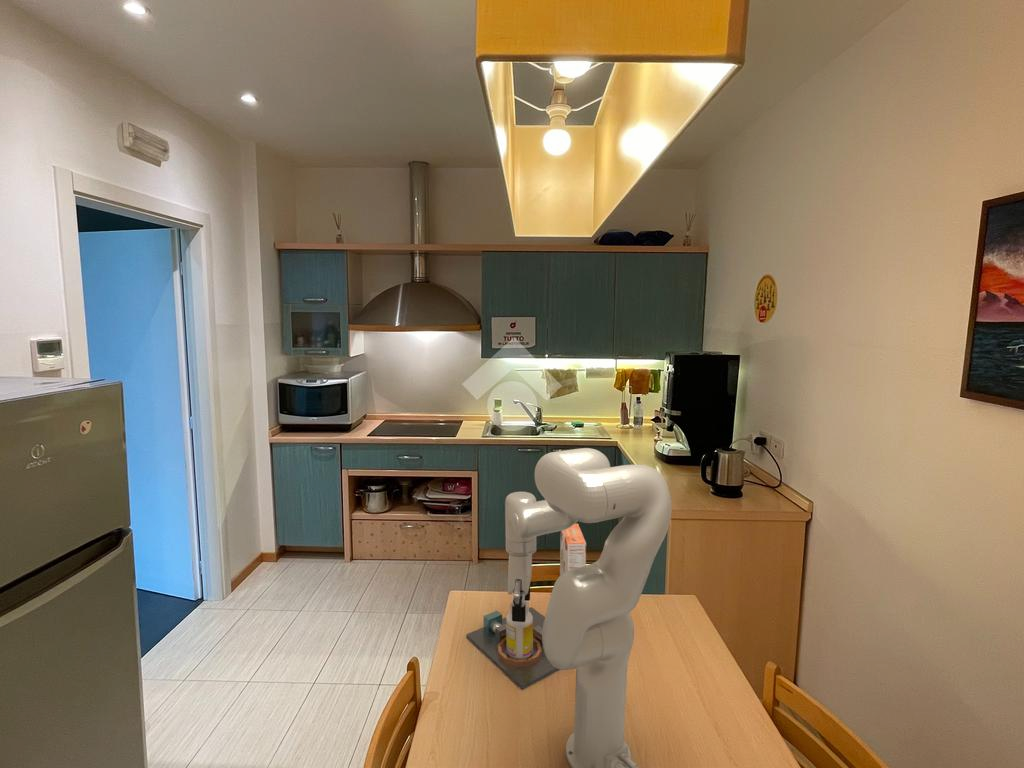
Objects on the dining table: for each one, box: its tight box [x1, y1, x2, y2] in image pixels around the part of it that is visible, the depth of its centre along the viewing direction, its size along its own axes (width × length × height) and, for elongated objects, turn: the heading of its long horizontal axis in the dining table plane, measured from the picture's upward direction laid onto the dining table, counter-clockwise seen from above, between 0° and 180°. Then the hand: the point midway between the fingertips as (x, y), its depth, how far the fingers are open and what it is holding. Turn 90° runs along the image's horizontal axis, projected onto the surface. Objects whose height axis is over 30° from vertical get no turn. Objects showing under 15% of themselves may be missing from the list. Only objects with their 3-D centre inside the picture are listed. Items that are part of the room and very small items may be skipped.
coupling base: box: [465, 606, 561, 691], centre depth 136 cm, size 24×22×5 cm
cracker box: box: [559, 523, 587, 577], centre depth 158 cm, size 14×6×21 cm, turn 2°
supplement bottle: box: [505, 601, 533, 660], centre depth 131 cm, size 7×7×13 cm
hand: (521, 610), depth 130 cm, fingers open, 9 cm apart
